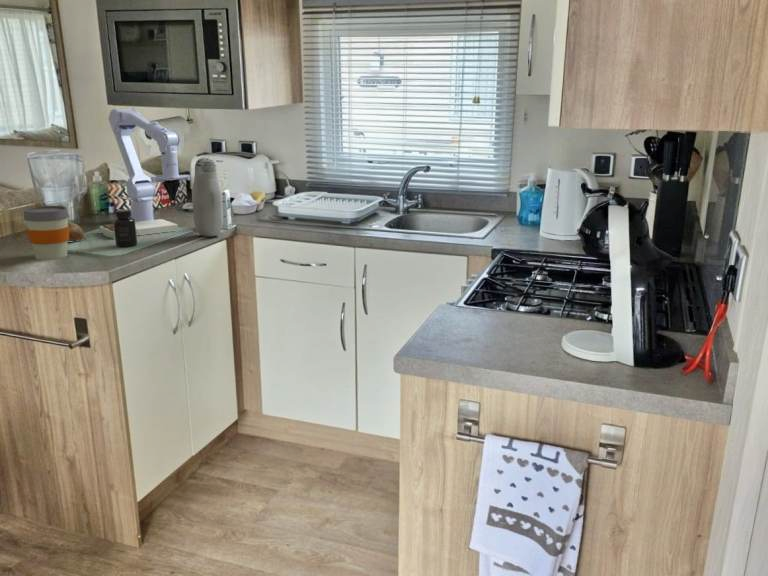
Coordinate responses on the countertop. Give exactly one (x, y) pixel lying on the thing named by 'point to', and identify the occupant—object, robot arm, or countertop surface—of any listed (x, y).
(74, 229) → the bread roll
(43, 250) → the reusable coffee cup
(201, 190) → the grey bottle
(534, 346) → the countertop surface
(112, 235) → the tray
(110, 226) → the tile
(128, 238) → the supplement bottle
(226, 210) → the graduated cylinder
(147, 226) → the board
